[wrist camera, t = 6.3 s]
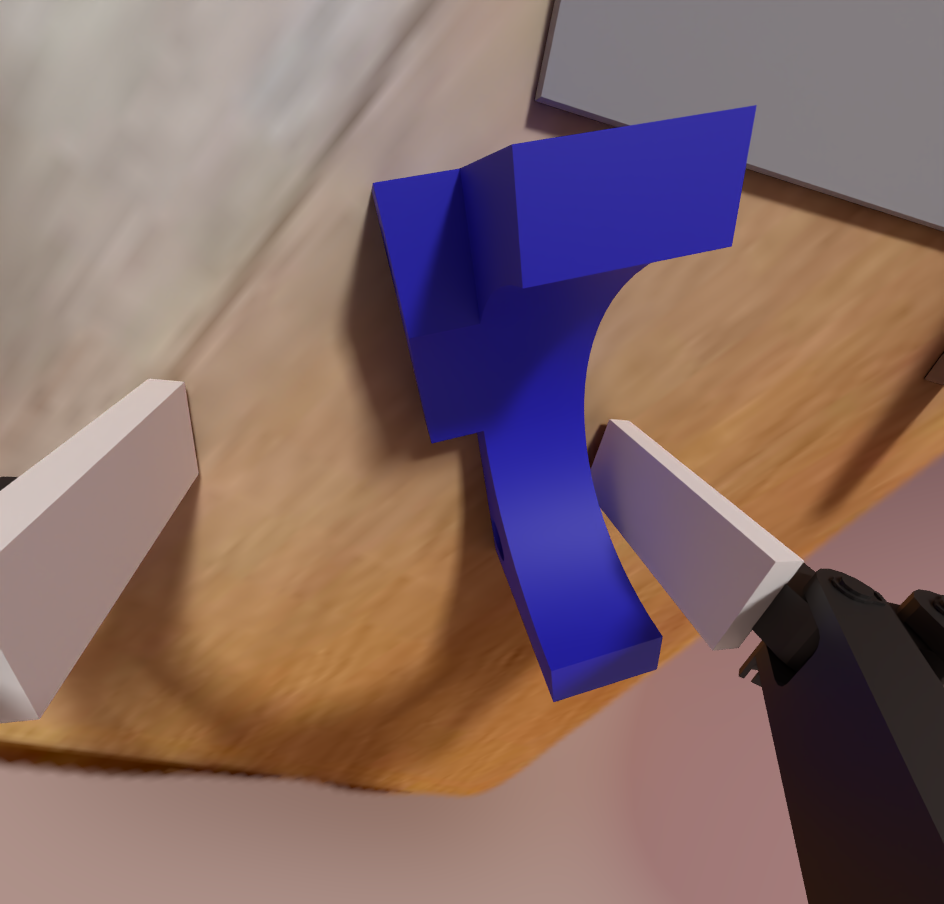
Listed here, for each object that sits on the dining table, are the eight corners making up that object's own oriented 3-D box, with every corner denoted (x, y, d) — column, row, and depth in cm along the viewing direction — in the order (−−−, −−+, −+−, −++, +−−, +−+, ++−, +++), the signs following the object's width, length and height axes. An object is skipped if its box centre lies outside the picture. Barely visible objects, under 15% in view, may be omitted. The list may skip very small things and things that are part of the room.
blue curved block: (371, 190, 9) (375, 166, 4) (556, 159, 10) (756, 104, 5) (457, 556, 16) (499, 719, 11) (566, 526, 16) (656, 669, 11)
